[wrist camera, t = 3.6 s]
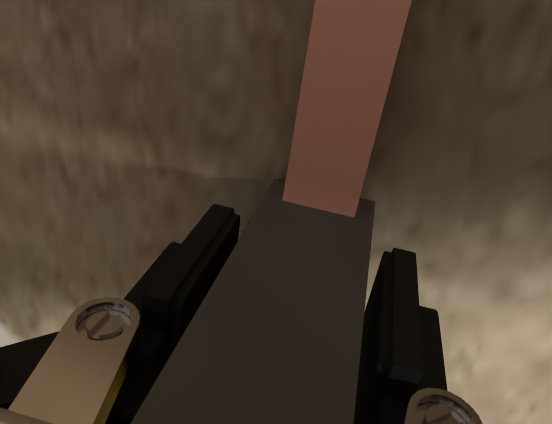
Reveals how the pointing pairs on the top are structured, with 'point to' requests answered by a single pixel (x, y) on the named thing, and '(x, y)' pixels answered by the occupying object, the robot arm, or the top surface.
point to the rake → (297, 251)
